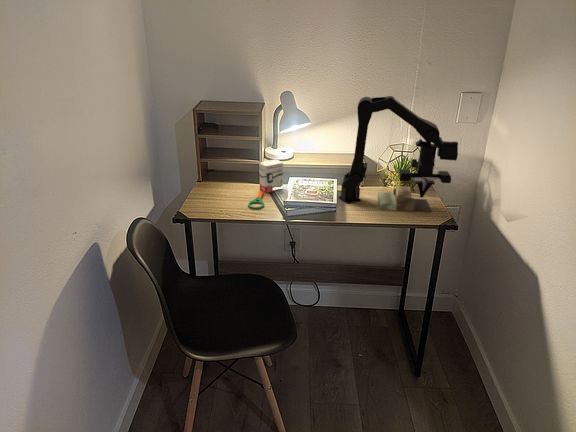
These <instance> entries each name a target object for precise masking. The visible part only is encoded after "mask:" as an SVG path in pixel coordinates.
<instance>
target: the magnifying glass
mask: <svg viewBox="0 0 576 432" xmlns="http://www.w3.org/2000/svg"><path fill="white" fill-rule="evenodd" d="M264 194H265V193H264V192H263V191H261V190H260V191H258V194H257V197H256V198H254V199H252V200H250V201H249V202H248V203H247V204H248V205H247V207H248V209H251V210H261V209H264V207H265V202H264V201H263V200H262V199H263V195H264ZM254 204H258V205H260V206H253V205H254Z"/></svg>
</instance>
